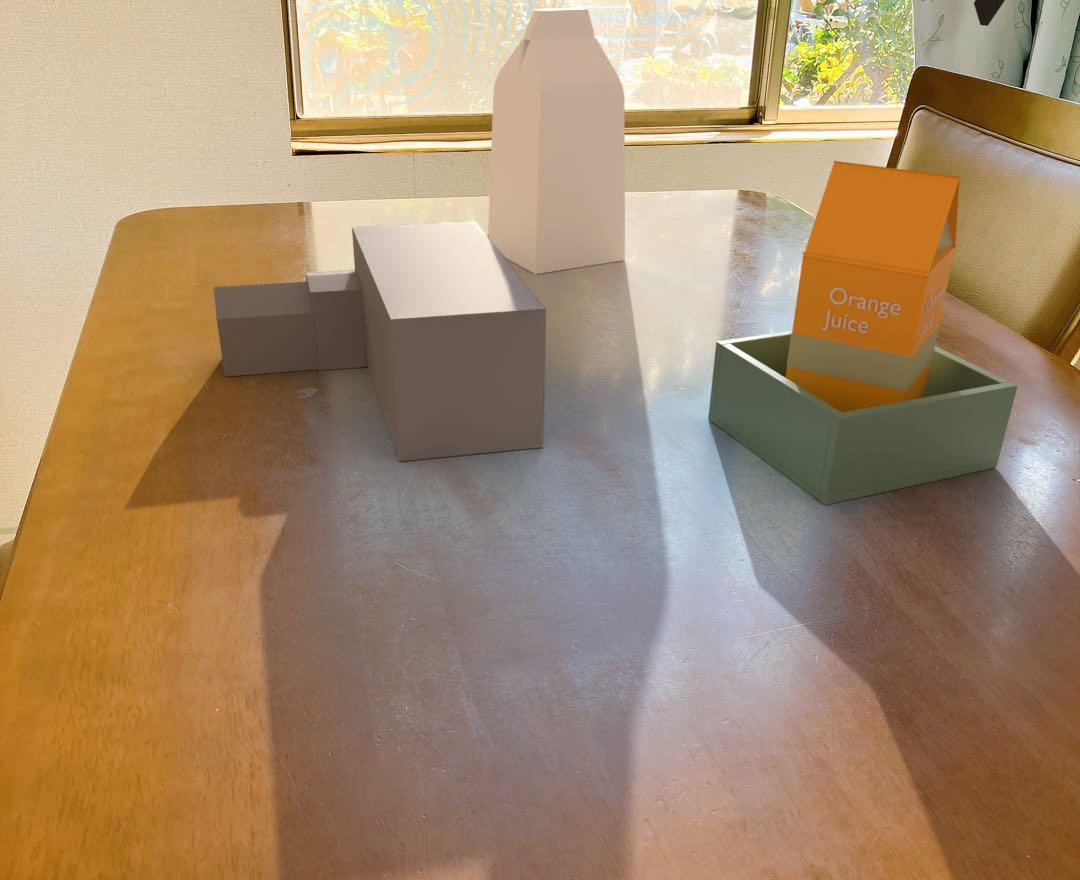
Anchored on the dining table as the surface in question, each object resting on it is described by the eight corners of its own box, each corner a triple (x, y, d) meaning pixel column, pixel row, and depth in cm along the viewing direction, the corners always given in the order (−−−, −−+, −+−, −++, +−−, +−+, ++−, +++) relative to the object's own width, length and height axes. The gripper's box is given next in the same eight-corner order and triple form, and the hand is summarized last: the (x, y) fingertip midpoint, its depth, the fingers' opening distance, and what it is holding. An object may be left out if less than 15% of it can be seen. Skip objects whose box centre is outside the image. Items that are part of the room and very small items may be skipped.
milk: (535, 274, 120) (538, 15, 107) (487, 248, 129) (485, 6, 115) (624, 260, 125) (638, 12, 112) (573, 236, 134) (580, 3, 121)
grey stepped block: (224, 354, 98) (207, 233, 92) (476, 335, 103) (475, 220, 97) (227, 478, 77) (205, 332, 71) (543, 447, 82) (546, 308, 77)
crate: (996, 467, 81) (1018, 385, 77) (824, 505, 75) (840, 418, 72) (863, 391, 93) (877, 317, 89) (707, 419, 87) (715, 341, 84)
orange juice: (889, 468, 79) (947, 187, 69) (775, 440, 83) (813, 170, 72) (917, 430, 85) (974, 166, 74) (809, 405, 88) (849, 151, 78)
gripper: (1041, -206, 101) (916, -21, 100) (1342, -223, 84) (1193, -2, 84) (1056, -137, 106) (937, 38, 106) (1340, -140, 90) (1201, 68, 89)
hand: (1050, 21), depth 95 cm, fingers open, 13 cm apart
